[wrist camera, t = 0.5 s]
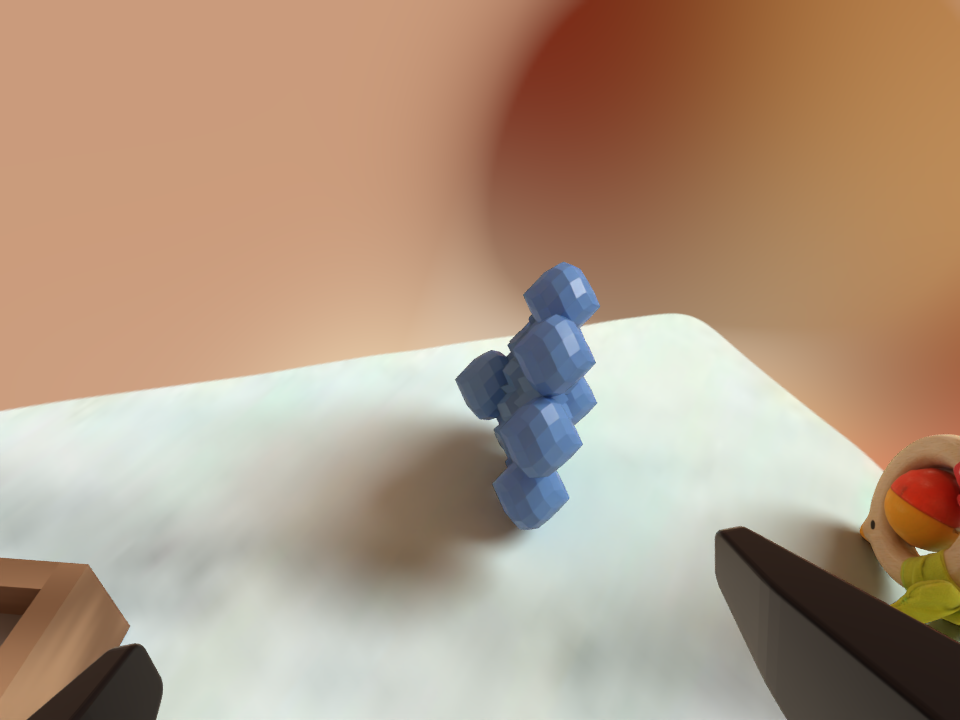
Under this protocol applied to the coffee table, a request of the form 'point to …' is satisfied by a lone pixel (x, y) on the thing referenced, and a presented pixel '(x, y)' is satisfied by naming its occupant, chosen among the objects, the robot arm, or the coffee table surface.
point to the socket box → (50, 630)
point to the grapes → (537, 394)
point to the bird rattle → (920, 527)
